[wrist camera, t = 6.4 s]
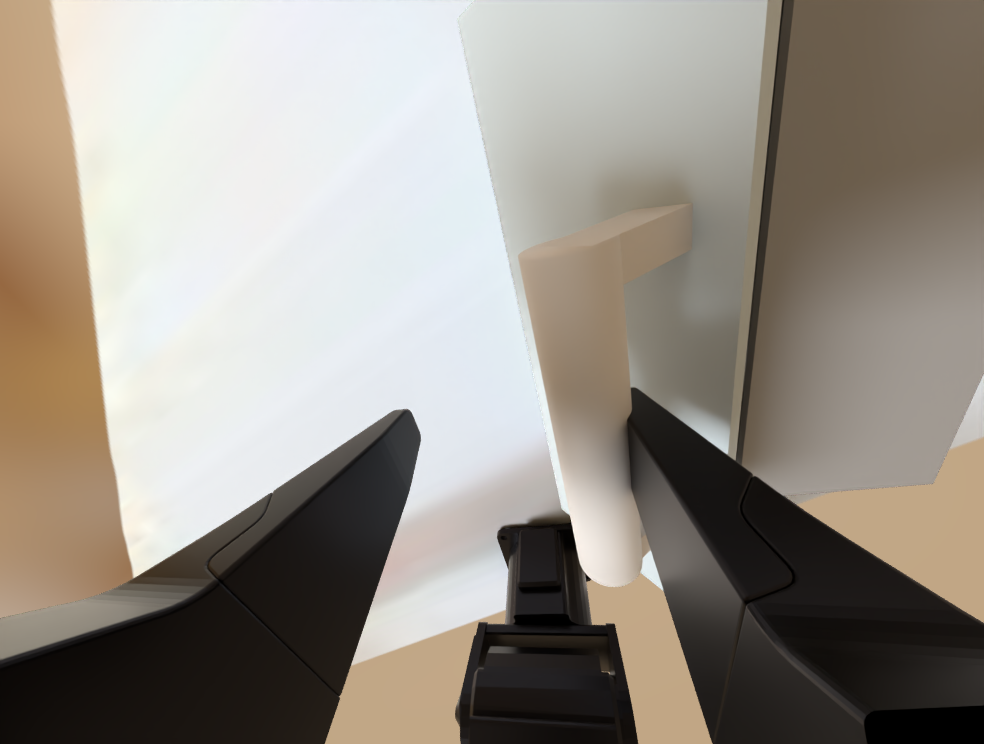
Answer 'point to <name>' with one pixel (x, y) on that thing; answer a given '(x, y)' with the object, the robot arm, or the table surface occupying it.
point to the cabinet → (867, 246)
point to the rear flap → (626, 224)
